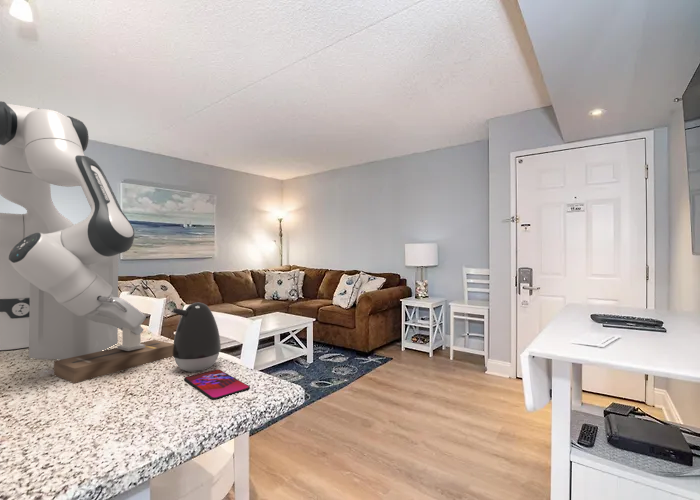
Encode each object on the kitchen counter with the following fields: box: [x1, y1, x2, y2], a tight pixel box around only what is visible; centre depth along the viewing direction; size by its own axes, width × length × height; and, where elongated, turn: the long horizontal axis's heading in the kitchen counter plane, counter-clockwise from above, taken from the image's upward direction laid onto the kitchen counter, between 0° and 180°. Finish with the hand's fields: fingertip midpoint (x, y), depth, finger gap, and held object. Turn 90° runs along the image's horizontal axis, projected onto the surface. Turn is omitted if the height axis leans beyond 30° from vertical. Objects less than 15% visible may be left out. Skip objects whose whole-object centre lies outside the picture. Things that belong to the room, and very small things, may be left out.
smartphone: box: [183, 368, 251, 401], centre depth 68 cm, size 8×1×15 cm
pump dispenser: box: [172, 302, 222, 373], centre depth 78 cm, size 10×10×15 cm
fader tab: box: [116, 324, 145, 351], centre depth 84 cm, size 4×5×9 cm
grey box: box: [28, 254, 119, 360], centre depth 92 cm, size 19×15×28 cm
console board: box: [53, 339, 174, 384], centre depth 81 cm, size 22×10×3 cm, turn 150°
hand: (134, 331), depth 84 cm, fingers closed on fader tab, 4 cm apart
